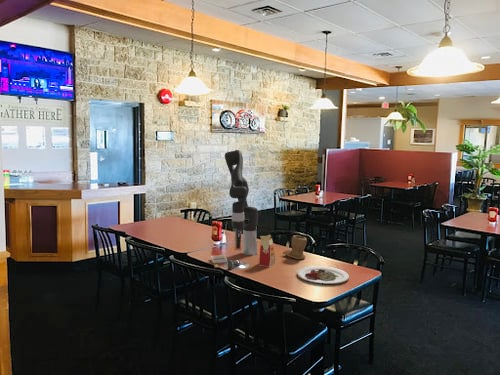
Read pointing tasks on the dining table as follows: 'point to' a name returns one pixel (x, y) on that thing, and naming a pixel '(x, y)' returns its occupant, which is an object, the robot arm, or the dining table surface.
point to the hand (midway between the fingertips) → (237, 247)
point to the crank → (235, 263)
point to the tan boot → (297, 247)
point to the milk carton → (266, 252)
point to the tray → (219, 258)
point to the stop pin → (235, 245)
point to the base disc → (242, 266)
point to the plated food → (323, 274)
